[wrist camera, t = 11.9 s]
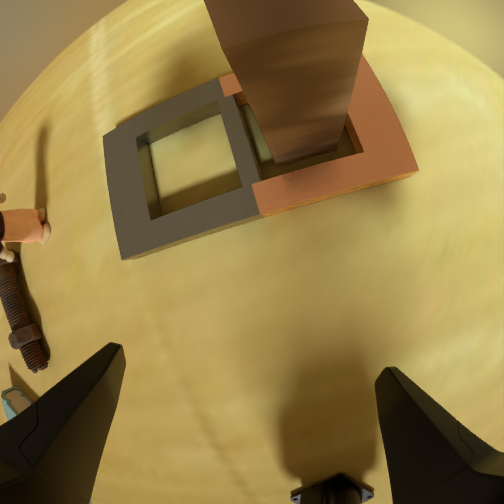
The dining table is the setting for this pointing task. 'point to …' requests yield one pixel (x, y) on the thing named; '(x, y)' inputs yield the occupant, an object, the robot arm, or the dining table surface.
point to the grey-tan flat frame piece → (243, 165)
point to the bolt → (20, 317)
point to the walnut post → (293, 67)
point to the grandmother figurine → (21, 228)
